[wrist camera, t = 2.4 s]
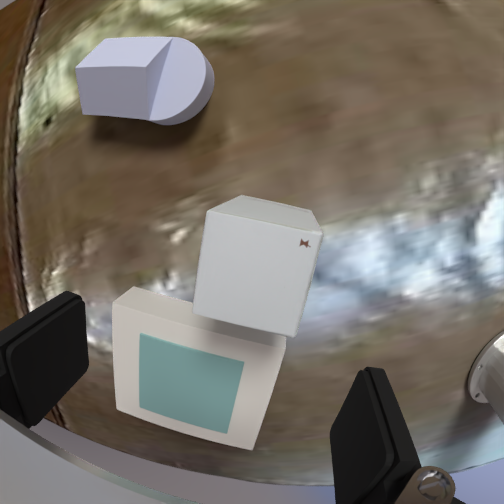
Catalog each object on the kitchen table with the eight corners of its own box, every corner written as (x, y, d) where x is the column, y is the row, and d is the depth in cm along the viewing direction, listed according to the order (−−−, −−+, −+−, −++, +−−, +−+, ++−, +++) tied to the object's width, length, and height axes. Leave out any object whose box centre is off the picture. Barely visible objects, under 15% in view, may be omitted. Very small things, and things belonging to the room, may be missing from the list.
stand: (286, 325, 33) (285, 350, 28) (256, 424, 37) (252, 452, 32) (133, 286, 34) (111, 303, 29) (132, 388, 39) (115, 410, 33)
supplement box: (239, 193, 31) (205, 204, 18) (313, 209, 30) (328, 232, 18) (225, 263, 32) (188, 314, 20) (295, 279, 32) (297, 341, 20)
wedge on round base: (99, 117, 30) (202, 131, 30) (63, 110, 24) (179, 120, 23) (119, 47, 28) (223, 52, 27) (88, 28, 21) (207, 25, 21)
